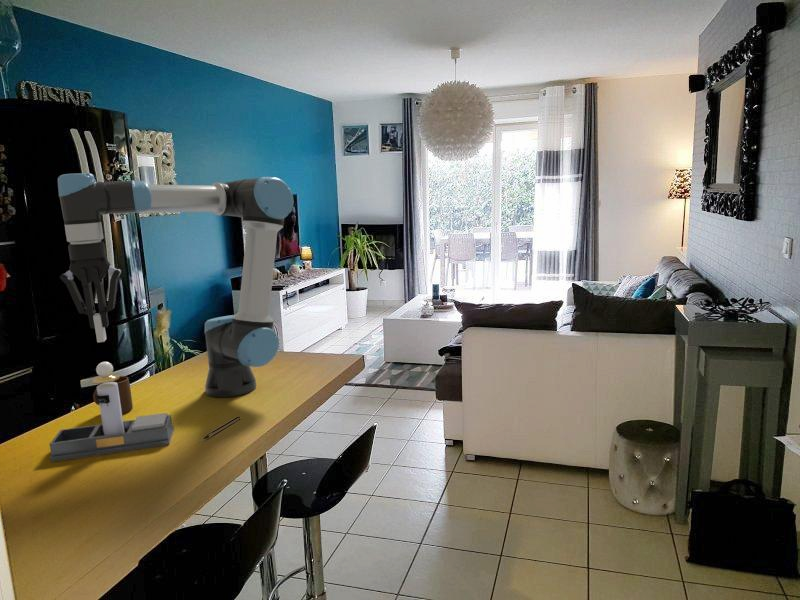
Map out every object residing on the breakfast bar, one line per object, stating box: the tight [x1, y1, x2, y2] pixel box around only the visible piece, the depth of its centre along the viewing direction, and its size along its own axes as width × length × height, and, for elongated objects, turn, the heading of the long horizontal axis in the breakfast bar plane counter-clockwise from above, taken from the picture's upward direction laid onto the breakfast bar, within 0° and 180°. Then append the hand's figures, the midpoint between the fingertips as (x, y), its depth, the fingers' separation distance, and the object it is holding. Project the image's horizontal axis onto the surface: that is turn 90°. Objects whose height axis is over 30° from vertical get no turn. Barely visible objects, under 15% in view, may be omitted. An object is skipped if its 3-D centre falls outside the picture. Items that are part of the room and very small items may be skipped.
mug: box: [92, 375, 134, 415], centre depth 163 cm, size 12×8×9 cm, turn 167°
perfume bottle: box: [92, 361, 125, 436], centre depth 141 cm, size 6×6×20 cm
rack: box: [49, 412, 175, 463], centre depth 143 cm, size 26×10×5 cm, turn 105°
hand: (102, 340), depth 138 cm, fingers closed
